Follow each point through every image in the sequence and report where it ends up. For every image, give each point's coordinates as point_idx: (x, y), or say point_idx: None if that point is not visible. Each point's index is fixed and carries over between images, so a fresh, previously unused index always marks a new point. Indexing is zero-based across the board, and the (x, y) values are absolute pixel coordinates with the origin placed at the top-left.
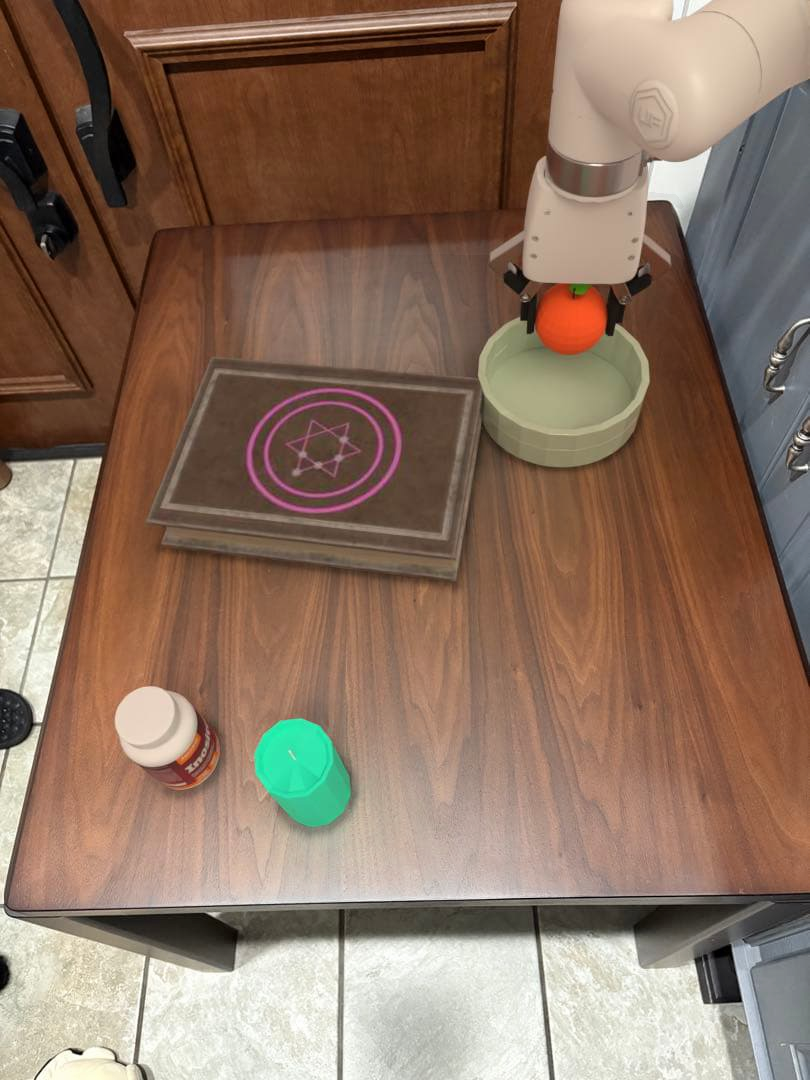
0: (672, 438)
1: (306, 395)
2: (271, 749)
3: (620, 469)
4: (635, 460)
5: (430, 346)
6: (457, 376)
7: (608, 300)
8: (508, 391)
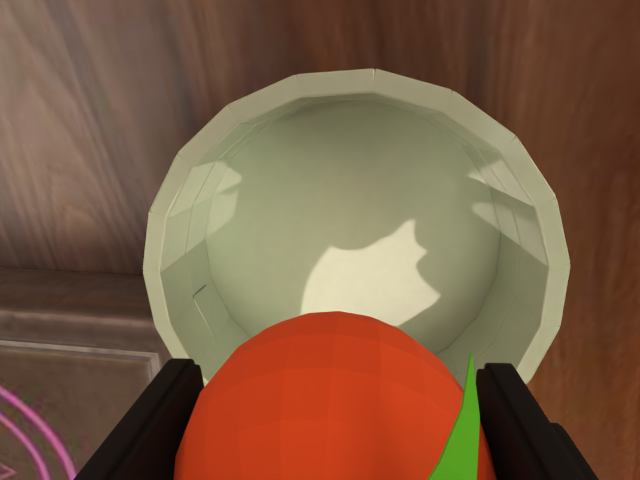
0: (561, 320)
1: None
2: None
3: None
4: None
5: (70, 121)
6: (115, 318)
7: (515, 473)
8: (249, 241)
